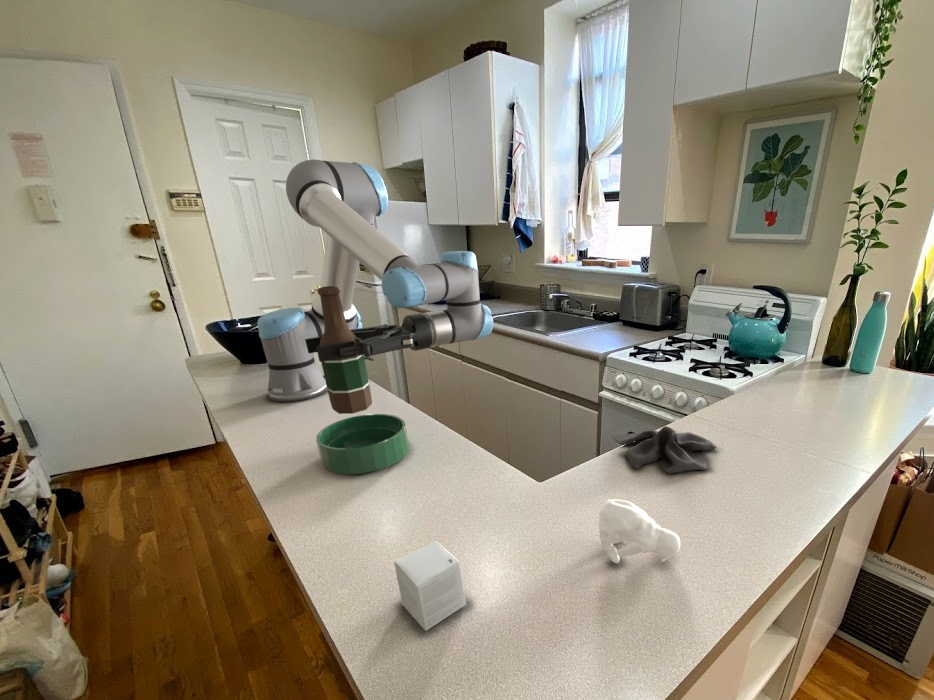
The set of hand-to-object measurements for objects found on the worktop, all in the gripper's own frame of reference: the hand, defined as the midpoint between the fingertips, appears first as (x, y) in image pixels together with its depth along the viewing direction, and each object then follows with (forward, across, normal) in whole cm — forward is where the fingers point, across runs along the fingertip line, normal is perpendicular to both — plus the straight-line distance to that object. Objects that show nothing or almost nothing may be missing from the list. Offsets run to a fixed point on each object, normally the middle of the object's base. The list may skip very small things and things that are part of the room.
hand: (312, 350), depth 87 cm
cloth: (-53, -41, -24) cm, 72 cm away
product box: (+2, -49, -24) cm, 55 cm away
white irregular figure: (-25, -60, -24) cm, 69 cm away
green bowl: (-5, -2, -24) cm, 24 cm away
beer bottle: (-5, 0, -13) cm, 14 cm away
